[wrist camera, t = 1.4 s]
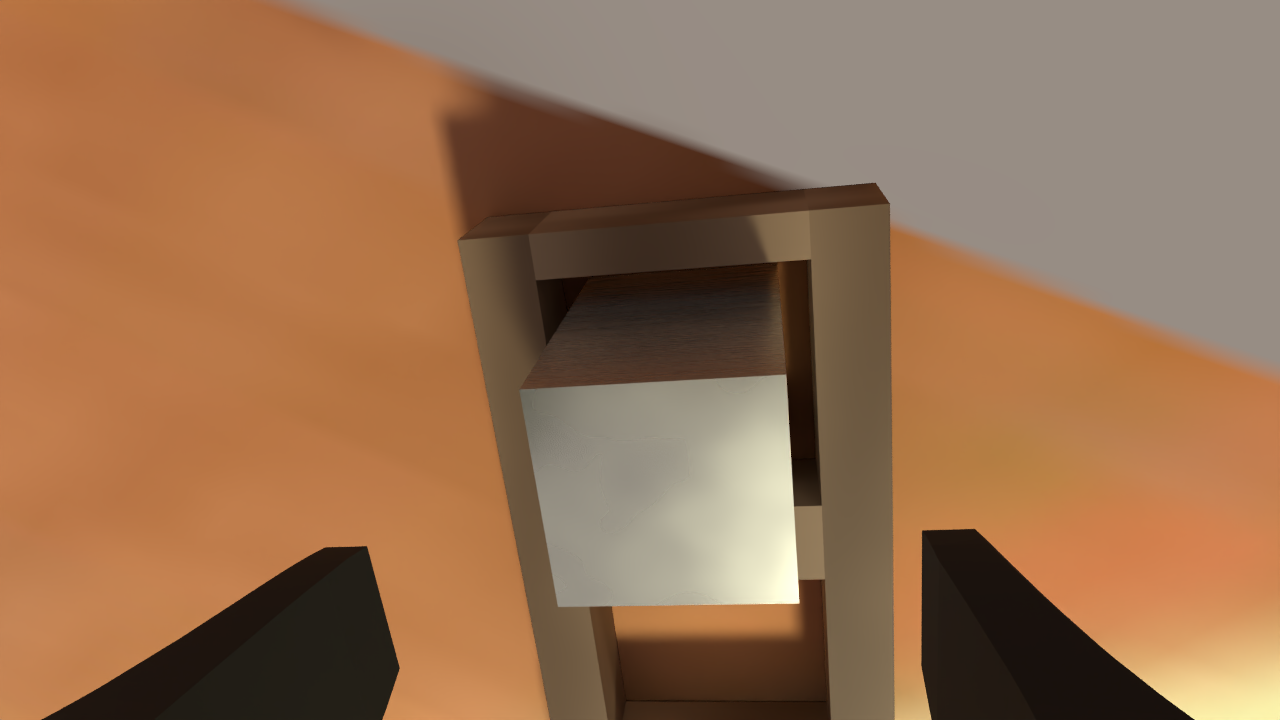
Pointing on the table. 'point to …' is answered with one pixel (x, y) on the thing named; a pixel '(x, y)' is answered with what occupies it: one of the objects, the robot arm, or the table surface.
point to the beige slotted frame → (822, 488)
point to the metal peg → (666, 442)
